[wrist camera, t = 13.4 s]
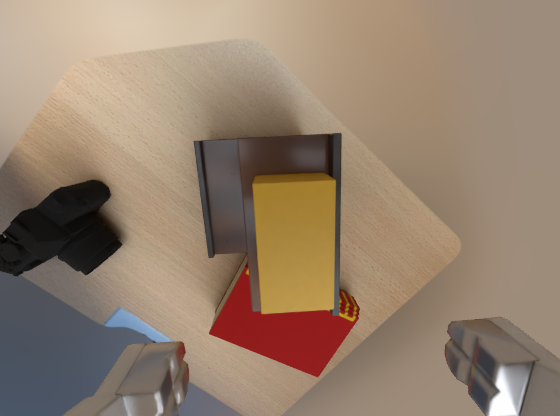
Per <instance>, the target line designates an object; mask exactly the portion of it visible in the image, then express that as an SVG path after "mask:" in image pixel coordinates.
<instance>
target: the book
mask: <svg viewBox="0 0 560 416" xmlns="http://www.w3.org/2000/svg"><path fill="white" fill-rule="evenodd" d="M359 310H360V308H359V306H358V305H357V303H356V301H355V299H354V297H353V296H351V295H349V294H346V293H344V292H342V291H340V290H339V315H338V316H332V315H331V312H330V310H317V311H301V312H285V313H270V314H262V313H261V311H255V312H253V311H252V304H251V293H250V281H249V269H248V258H247V254H246V256H245V258H244V260H243V262H242V264H241V265H240V267H239V269H238V271H237V273H236V275H235V277H234V278H233V280H232V282H231V284H230V286H229V288H228V289H227V291H226V293H225V295H224V297H223V299H222V301H221V302H220V304H219V306H218V308H217V310H216V312H215V317H214V320H213V324H212V327H211V330H210V332H209V334H210V335H213V336H215V337H218V338H220V339H223V340H225V341H228V342H230V343H233V344H235V345H238V346H240V347H243V348H246V349H248V350H251V351H253V352H256V353H258V354H261V355H263V356H266V357H268V358H271V359H273V360H276V361H278V362H281V363H283V364H286V365H288V366H291V367H293V368H296V369H298V370H301V371H303V372H306V373H308V374H311V375H313V376H316V377H319V375H320V374H321V372H322V371H323V369H324V368H325V367H326V365H327V364H328V362H329V361H330V359H331V358H332V356H333V355H334V354H335V352H336V351H337V349H338V348H339V346H340V345H341V343H342V342H343V340H344V339H345V338H346V336H347V335H348V333H349V332H350V330H351V329H352V327H353V326H354V325H355V323H356V322H357V320H358V319H359V317H358V315H359Z"/></svg>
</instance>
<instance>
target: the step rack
mask: <svg viewBox="0 0 560 416" xmlns="http://www.w3.org/2000/svg"><path fill="white" fill-rule="evenodd" d="M194 147H195V155H196V163H197V171H198V179H199V186H200V194H201V202H202V210H203V217H204V225H205V233H206V241H207V249H208V256H209V258H213V257H214V255H215V254H226V253H242V252H247V246H246V235H245V223H244V211H243V200H242V188H241V177H240V165H239V153H238V142H237V139H223V140H203V141H194Z"/></svg>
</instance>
